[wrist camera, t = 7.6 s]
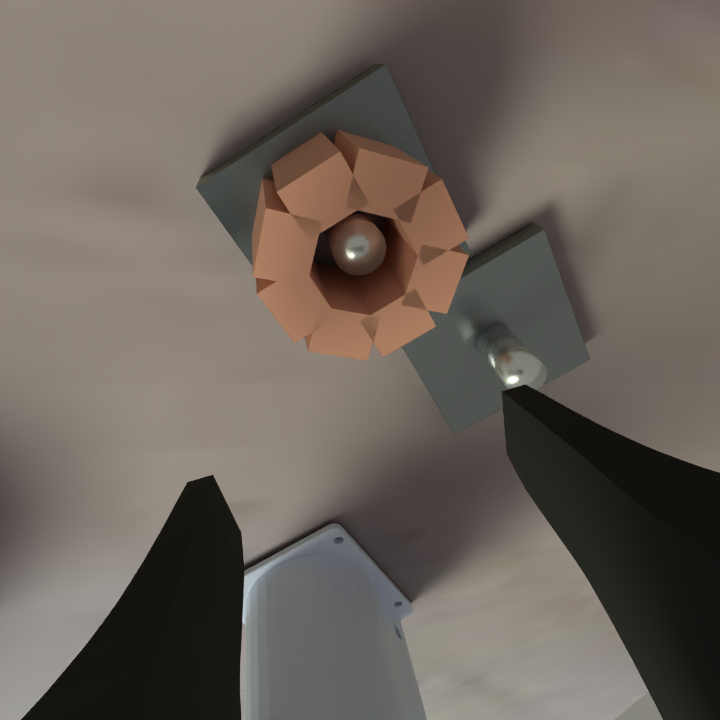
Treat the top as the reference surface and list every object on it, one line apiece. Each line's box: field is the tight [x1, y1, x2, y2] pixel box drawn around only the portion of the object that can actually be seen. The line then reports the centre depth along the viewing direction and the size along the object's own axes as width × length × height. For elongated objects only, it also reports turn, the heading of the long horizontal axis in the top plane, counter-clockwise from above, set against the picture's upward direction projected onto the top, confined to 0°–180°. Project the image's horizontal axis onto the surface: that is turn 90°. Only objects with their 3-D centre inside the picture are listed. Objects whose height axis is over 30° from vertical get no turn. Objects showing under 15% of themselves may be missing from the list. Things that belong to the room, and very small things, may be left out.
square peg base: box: [196, 64, 471, 338], centre depth 17 cm, size 7×7×4 cm
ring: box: [252, 130, 469, 360], centre depth 16 cm, size 6×6×4 cm
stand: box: [402, 223, 590, 434], centre depth 21 cm, size 7×7×4 cm
